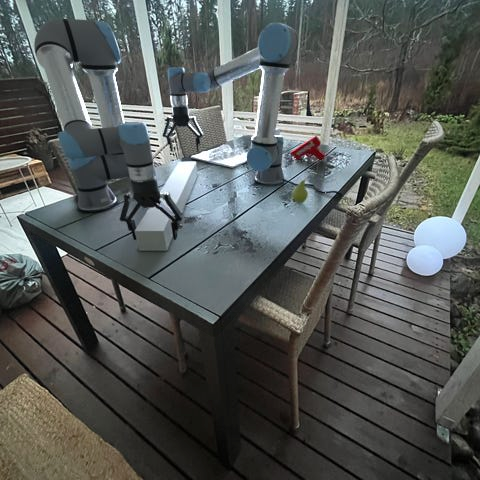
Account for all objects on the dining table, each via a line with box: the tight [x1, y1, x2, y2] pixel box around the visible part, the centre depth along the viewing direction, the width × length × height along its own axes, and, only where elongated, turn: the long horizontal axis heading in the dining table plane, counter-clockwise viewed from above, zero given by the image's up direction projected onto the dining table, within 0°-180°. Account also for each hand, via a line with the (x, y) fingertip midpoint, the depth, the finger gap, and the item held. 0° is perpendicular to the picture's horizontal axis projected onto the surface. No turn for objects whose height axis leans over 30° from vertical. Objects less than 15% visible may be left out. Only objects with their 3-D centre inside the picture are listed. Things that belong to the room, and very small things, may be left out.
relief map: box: [190, 143, 248, 169], centre depth 179 cm, size 27×35×5 cm
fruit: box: [291, 174, 311, 204], centre depth 118 cm, size 7×8×12 cm
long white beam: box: [135, 161, 198, 252], centre depth 119 cm, size 74×9×8 cm, turn 0°
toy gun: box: [290, 135, 326, 163], centre depth 173 cm, size 18×4×15 cm
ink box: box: [275, 127, 281, 136], centre depth 204 cm, size 8×5×12 cm, turn 134°
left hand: (155, 238), depth 93 cm, fingers open, 13 cm apart
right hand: (184, 151), depth 141 cm, fingers open, 13 cm apart
